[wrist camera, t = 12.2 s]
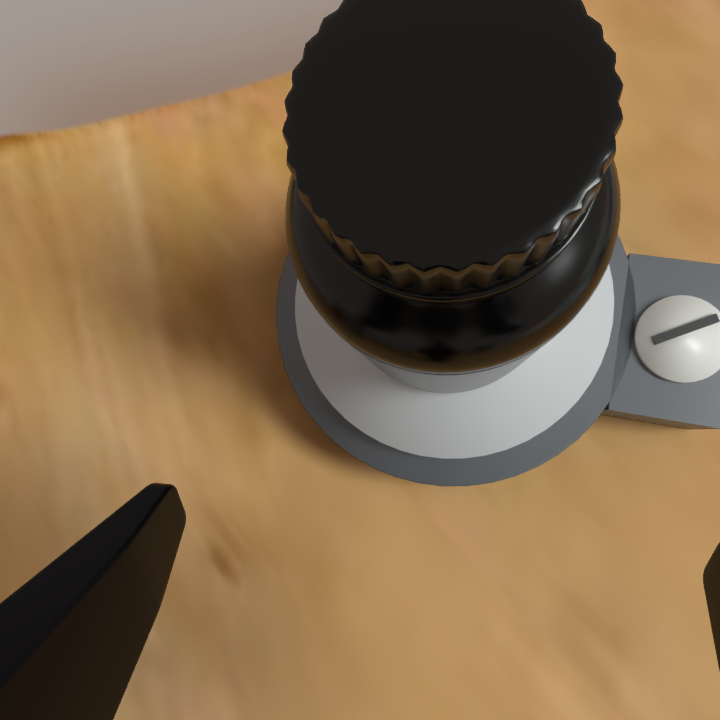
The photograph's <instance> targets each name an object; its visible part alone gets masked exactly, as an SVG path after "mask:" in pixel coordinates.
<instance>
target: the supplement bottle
mask: <svg viewBox="0 0 720 720" xmlns="http://www.w3.org/2000/svg"><path fill="white" fill-rule="evenodd" d="M615 63H616V53H615V52H614V51H613V49H612V48H611V47H610V46H609V45H608V44H607V43H606V42H605V41H604V38H603V30H602V26H601V24H600V23H598V22H597V21H596V20H594V19H593V18H591V17H590V16H588V15H587V12H586V9H585V7H584V5H583V3H582V1H581V0H343V2H342V3H341V5H340V7H339V8H338V10H336V11H335V12H333V13H332V14H330V15H328V16H327V17H325V18H324V19H323V21H322V23H321V26H320V28H319V31H318V33H317V34H316V35H315V36H313V37H312V38H311V39H310V40H309V41H308V42H307V43H306V45H305V48H304V53H303V59H302V60H301V62H300V63H299V64H298V65H297V66H296V67H295V69H294V70H293V72H292V84H293V86H292V88H291V90H290V92H289V93H288V95H287V97H286V99H285V107H286V112H287V115H288V116H287V119H286V121H285V123H284V127H283V130H282V132H283V137H284V139H285V142H286V144H287V146H288V150H287V166H288V168H289V170H290V171H291V173H292V174H291V178H290V183H289V187H288V192H287V200H286V234H287V242H288V247H289V253H290V257H291V260H292V263H293V267H294V270H295V272H296V275H297V277H298V280H299V282H300V284H301V286H302V288H303V290H304V292H305V293H306V295H307V297H308V298H309V300H310V301H311V303H312V304H313V306H314V307H315V309H316V310H317V312H318V313H319V314H320V315H321V317H322V318H323V319H324V320H325V321H326V322H327V324H328V325H329V326H330V327H331V328H332V329H333V330H334V331H335V332H336V333H337V334H338V335H339V336H340V337H341V338H343V339H344V340H345V341H346V342H347V343H349V344H350V345H351V346H352V347H353V348H355V349H356V350H357V351H358V352H359V353H361V354H362V355H363V356H364V357H365V358H367V359H368V360H369V361H370V362H371V363H373V364H374V365H375V366H376V367H378V368H379V369H380V370H381V371H383V372H384V373H385V374H387V375H388V376H390V377H392V378H393V379H395V380H397V381H399V382H401V383H402V384H405V385H407V386H410V387H412V388H415V389H419V390H422V391H427V392H433V393H459V392H466V391H471V390H475V389H478V388H481V387H484V386H486V385H489V384H491V383H493V382H495V381H497V380H499V379H500V378H502V377H504V376H506V375H507V374H508V373H510V372H511V371H513V370H514V369H515V368H517V367H518V366H519V365H520V364H522V363H523V362H524V361H525V360H527V359H528V358H529V357H530V356H532V355H533V354H534V353H535V352H537V351H538V350H539V349H540V348H542V347H543V346H544V345H545V344H547V343H548V342H549V341H550V340H551V339H553V338H554V337H555V336H556V335H557V334H559V333H560V332H561V331H562V330H563V329H564V328H565V327H566V326H567V325H568V324H569V323H570V322H571V321H572V320H573V319H574V318H575V317H576V316H577V314H578V313H579V312H580V311H581V309H582V308H583V307H584V306H585V304H586V303H587V302H588V301H589V299H590V298H591V296H592V295H593V293H594V292H595V290H596V288H597V287H598V285H599V284H600V282H601V280H602V278H603V276H604V274H605V272H606V270H607V267H608V265H609V262H610V260H611V257H612V254H613V251H614V247H615V243H616V240H617V235H618V228H619V222H620V205H621V200H620V186H619V180H618V174H617V169H616V165H615V162H614V157H615V152H616V140H615V136H616V134H617V132H618V130H619V128H620V127H621V124H622V121H623V116H622V111H621V108H620V106H619V103H618V102H619V100H620V97H621V93H622V90H623V83H622V81H621V79H620V77H619V76H618V75H617V73H616V71H615Z"/></svg>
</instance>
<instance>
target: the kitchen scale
mask: <svg viewBox="0 0 720 720" xmlns="http://www.w3.org/2000/svg"><path fill="white" fill-rule="evenodd" d="M277 332H278V340H279V347H280V351H281V355H282V358H283V362H284V366H285V369H286V372H287V374H288V376H289V379H290V381H291V384H292V386H293V389H294V390H295V392H296V394H297V396H298V397H299V399H300V401H301V403H302V404H303V406H304V408H305V409H306V410H307V412H308V413H309V414H310V416H311V417H312V418H313V420H314V421H315V422H316V424H317V425H318V426H319V427H320V428H321V429H322V430H323V431H324V432H325V433H326V434H327V435H328V436H329V437H330V438H331V439H332V440H333V441H334V442H335V443H336V444H338V445H339V446H340V447H342V448H343V449H344V450H345V451H347V452H348V453H349V454H351V455H352V456H354V457H355V458H357V459H359V460H360V461H362V462H364V463H366V464H367V465H369V466H371V467H373V468H375V469H377V470H380V471H382V472H384V473H387V474H389V475H392V476H394V477H398V478H401V479H405V480H409V481H412V482H416V483H422V484H430V485H437V486H471V485H478V484H486V483H492V482H496V481H499V480H503V479H507V478H510V477H514V476H517V475H519V474H521V473H524V472H526V471H529V470H531V469H533V468H536V467H538V466H540V465H541V464H543V463H545V462H546V461H548V460H550V459H551V458H553V457H555V456H557V455H558V454H560V453H561V452H562V451H563V450H565V449H566V448H567V447H569V446H570V445H571V444H572V443H574V442H575V441H576V440H577V439H579V438H580V437H581V436H582V434H583V433H584V432H585V431H586V430H587V429H588V428H589V427H590V426H591V425H592V424H593V423H594V422H595V421H596V420H597V418H598V417H599V415H600V414H602V415H608V416H614V417H620V418H626V419H631V420H637V421H643V422H649V423H655V424H661V425H667V426H673V427H679V428H684V429H720V264H712V263H704V262H696V261H688V260H680V259H671V258H663V257H655V256H647V255H639V254H629V255H628V256H627V255H626V253H625V250H624V248H623V245H622V242H621V240H620V238H619V236H618V235H617V240H616V243H615V247H614V251H613V254H612V257H611V260H610V262H609V265H608V267H607V270H606V272H605V274H604V276H603V278H602V280H601V282H600V284H599V285H598V287H597V288H596V290H595V292H594V293H593V295H592V296H591V298H590V299H589V301H588V302H587V303H586V304H585V306H584V307H583V308H582V309H581V311H580V312H579V313H578V314H577V316H576V317H575V318H574V319H573V320H572V321H571V322H570V323H569V324H568V325H567V326H566V327H565V328H564V329H563V330H562V331H561V332H560V333H559V334H557V335H556V336H555V337H554V338H553V339H551V340H550V341H549V342H548V343H547V344H545V345H544V346H543V347H542V348H540V349H539V350H538V351H537V352H535V353H534V354H533V355H532V356H530V357H529V358H528V359H527V360H525V361H524V362H523V363H522V364H520V365H519V366H518V367H517V368H515V369H514V370H513V371H511V372H510V373H508V374H507V375H506V376H504V377H502V378H500V379H499V380H497V381H495V382H493V383H491V384H489V385H486V386H484V387H481V388H478V389H475V390H471V391H466V392H459V393H433V392H427V391H422V390H419V389H415V388H412V387H410V386H407V385H405V384H402V383H401V382H399V381H397V380H395V379H393V378H392V377H390V376H388V375H387V374H385V373H384V372H383V371H381V370H380V369H379V368H378V367H376V366H375V365H374V364H373V363H371V362H370V361H369V360H368V359H367V358H365V357H364V356H363V355H362V354H361V353H359V352H358V351H357V350H356V349H355V348H353V347H352V346H351V345H350V344H349V343H347V342H346V341H345V340H344V339H343V338H341V337H340V336H339V335H338V334H337V333H336V332H335V331H334V330H333V329H332V328H331V327H330V326H329V325H328V324H327V322H326V321H325V320H324V319H323V318H322V317H321V315H320V314H319V313H318V312H317V310H316V309H315V307H314V306H313V304H312V303H311V301H310V300H309V298H308V297H307V295H306V293H305V292H304V290H303V288H302V286H301V284H300V282H299V280H298V277H297V275H296V272H295V270H294V267H293V263H292V260H291V257H290V253H288V255H287V257H286V260H285V263H284V267H283V271H282V275H281V278H280V283H279V290H278V297H277Z"/></svg>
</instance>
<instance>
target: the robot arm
mask: <svg viewBox="0 0 720 720" xmlns="http://www.w3.org/2000/svg"><path fill="white" fill-rule="evenodd" d="M185 523H186V514H185V510H184V507H183V505H182V502H181V500H180V497H179V494H178V492H177V489H176V487H175V486H173V485H171V484H162V483H152V484H150V485H148V486H147V487H145V488H144V489H143V490H141V491H140V492H139V493H138V494H136V495H135V496H134V497H133V498H131V499H130V500H129V501H128V502H126V503H125V504H124V505H123V506H121V507H120V508H119V509H118V510H116V511H115V512H114V513H113V514H111V515H110V516H109V517H108V518H106V519H105V520H104V521H103V522H101V523H100V524H99V525H98V526H96V527H95V528H94V529H93V530H91V531H90V532H89V533H88V534H86V535H85V536H84V537H83V538H81V539H80V540H79V541H78V542H76V543H75V544H74V545H73V546H71V547H70V548H69V549H68V550H66V551H65V552H64V553H63V554H61V555H60V556H59V557H58V558H56V559H55V560H54V561H53V562H51V563H50V564H49V565H48V566H46V567H45V568H44V569H43V570H41V571H40V572H39V573H38V574H36V575H35V576H34V577H33V578H31V579H30V580H29V581H28V582H26V583H25V584H24V585H23V586H21V587H20V588H19V589H18V590H16V591H15V592H14V593H13V594H11V595H10V596H9V597H8V598H6V599H5V600H4V601H3V602H1V603H0V720H113V719H114V716H115V714H116V712H117V709H118V707H119V704H120V702H121V700H122V697H123V695H124V693H125V690H126V688H127V685H128V683H129V681H130V678H131V676H132V673H133V671H134V669H135V666H136V664H137V662H138V659H139V657H140V654H141V652H142V650H143V647H144V645H145V642H146V640H147V638H148V635H149V633H150V631H151V628H152V626H153V623H154V621H155V619H156V616H157V613H158V611H159V608H160V606H161V603H162V600H163V597H164V594H165V590H166V587H167V584H168V580H169V577H170V574H171V570H172V567H173V564H174V560H175V557H176V554H177V551H178V547H179V544H180V541H181V537H182V534H183V531H184V527H185ZM703 584H704V590H705V595H706V600H707V606H708V611H709V617H710V622H711V628H712V633H713V638H714V644H715V649H716V655H717V660H718V666H719V670H720V543H719V544H718V545H717V547H716V549H715V551H714V553H713V554H712V556H711V558H710V560H709V561H708V563H707V565H706V567H705V569H704V573H703Z"/></svg>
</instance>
